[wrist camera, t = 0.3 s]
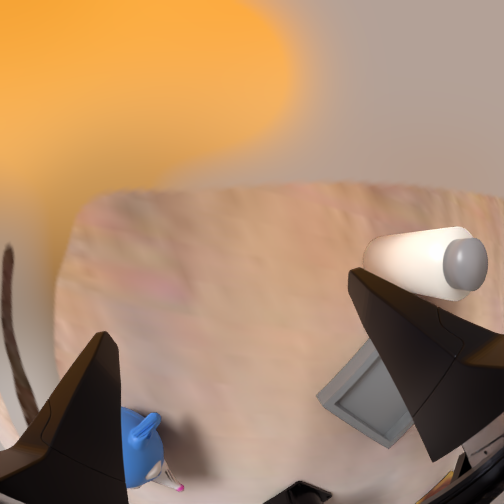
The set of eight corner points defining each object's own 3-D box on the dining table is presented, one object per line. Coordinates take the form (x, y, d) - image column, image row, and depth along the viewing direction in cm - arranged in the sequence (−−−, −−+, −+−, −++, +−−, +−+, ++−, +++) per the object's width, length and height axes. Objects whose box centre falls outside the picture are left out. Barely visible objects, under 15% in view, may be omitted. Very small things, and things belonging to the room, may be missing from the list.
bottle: (411, 259, 25) (501, 260, 13) (385, 296, 25) (472, 319, 13) (382, 225, 25) (470, 208, 13) (353, 263, 25) (437, 269, 13)
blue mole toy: (160, 484, 23) (146, 531, 15) (80, 424, 23) (46, 462, 14) (223, 439, 24) (220, 495, 15) (129, 367, 23) (92, 407, 15)
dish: (447, 362, 25) (458, 367, 23) (380, 439, 25) (388, 449, 22) (396, 303, 25) (408, 306, 23) (316, 395, 24) (322, 406, 22)
